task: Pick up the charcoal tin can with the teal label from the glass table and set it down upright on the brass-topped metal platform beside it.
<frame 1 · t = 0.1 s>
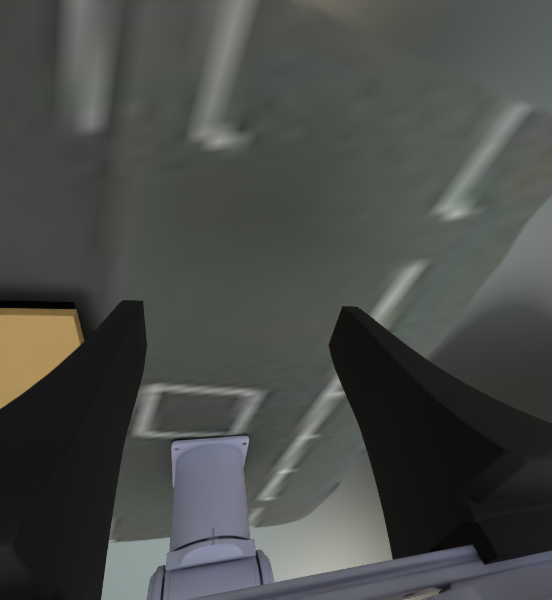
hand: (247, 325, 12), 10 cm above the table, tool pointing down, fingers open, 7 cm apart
platform: (7, 357, 23), on the table
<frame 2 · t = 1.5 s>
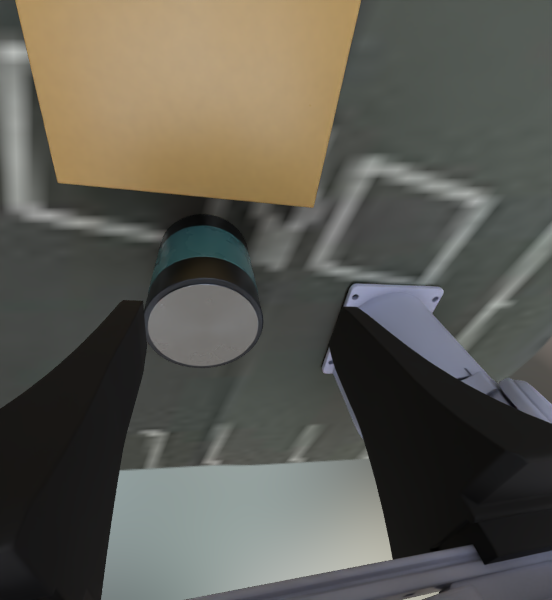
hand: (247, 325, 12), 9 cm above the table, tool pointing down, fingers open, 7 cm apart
can: (205, 255, 20), on the table
platform: (200, 42, 14), on the table
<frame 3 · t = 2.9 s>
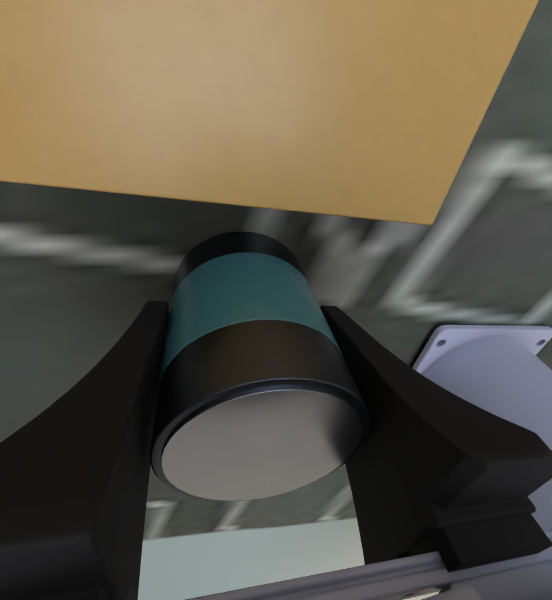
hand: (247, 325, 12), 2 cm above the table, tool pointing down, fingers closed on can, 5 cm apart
can: (240, 291, 13), on the table, touching gripper
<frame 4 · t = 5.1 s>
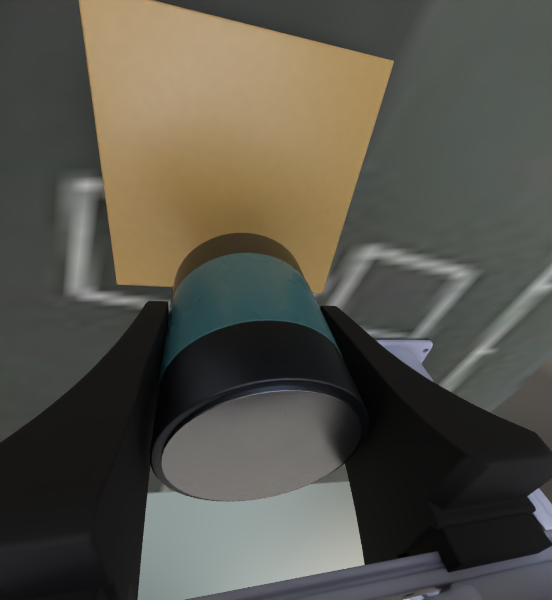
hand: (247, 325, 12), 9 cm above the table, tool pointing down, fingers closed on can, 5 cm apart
can: (240, 291, 13), point 7 cm above the table, touching gripper
platform: (234, 173, 17), on the table
when the fingers open (5 cm above the table, at t = 7.3 s): can stays where it is, resting on platform.
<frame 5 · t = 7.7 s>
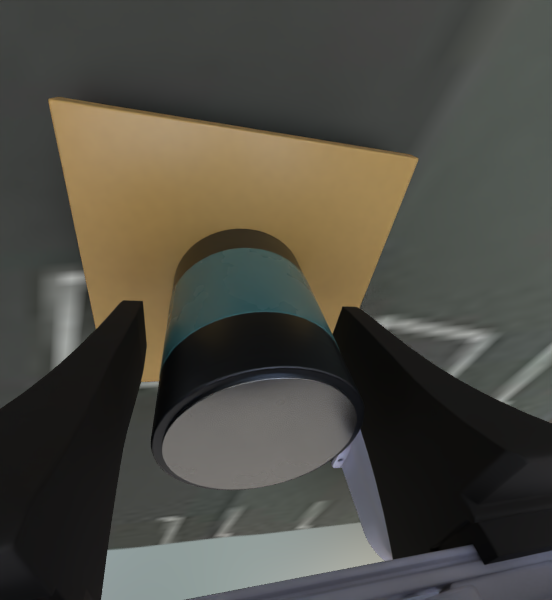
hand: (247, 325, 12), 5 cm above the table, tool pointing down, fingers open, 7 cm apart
can: (239, 287, 14), point 2 cm above the table, touching platform
platform: (236, 258, 16), on the table
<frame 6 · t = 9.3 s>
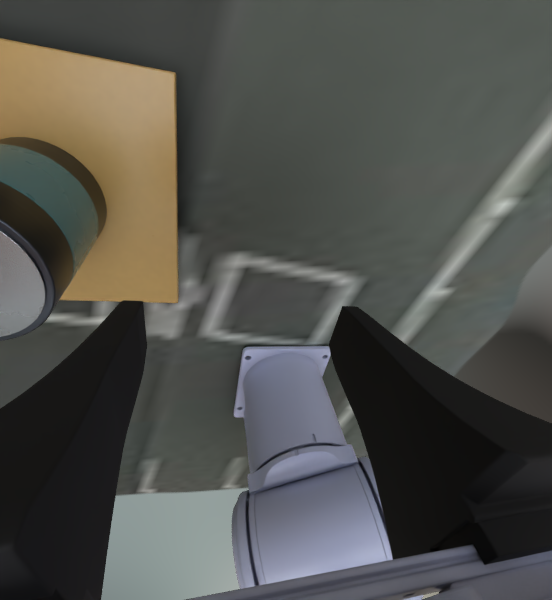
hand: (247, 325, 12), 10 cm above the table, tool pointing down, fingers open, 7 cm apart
can: (44, 199, 15), point 2 cm above the table, touching platform
platform: (64, 184, 17), on the table
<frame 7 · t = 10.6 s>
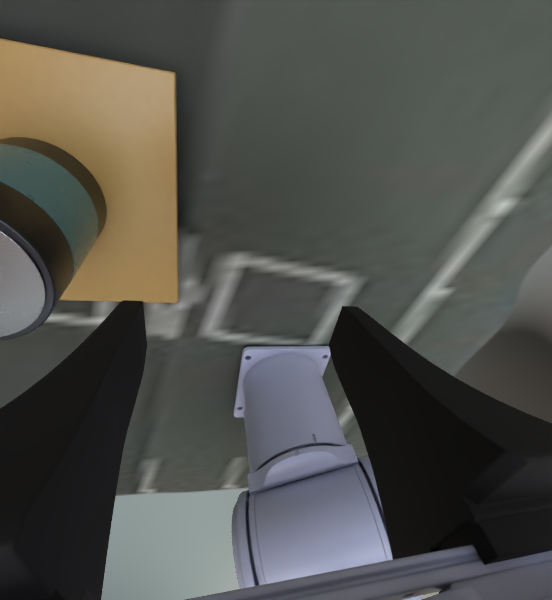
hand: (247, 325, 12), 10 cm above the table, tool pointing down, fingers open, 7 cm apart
can: (44, 199, 15), point 2 cm above the table, touching platform
platform: (64, 184, 17), on the table
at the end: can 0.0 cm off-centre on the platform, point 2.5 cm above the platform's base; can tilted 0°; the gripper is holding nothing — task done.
